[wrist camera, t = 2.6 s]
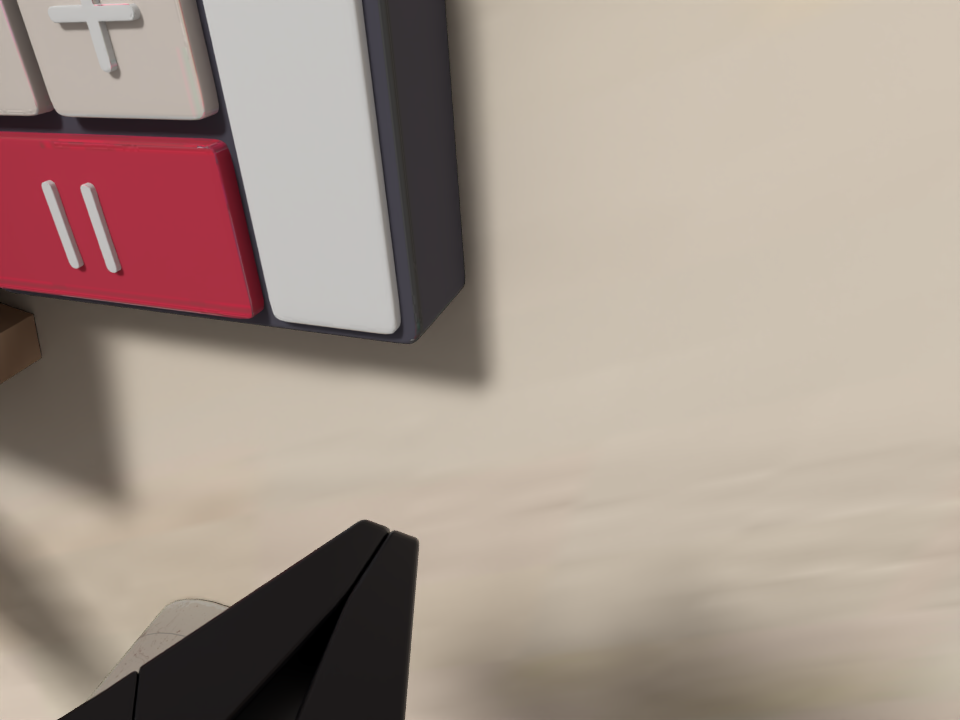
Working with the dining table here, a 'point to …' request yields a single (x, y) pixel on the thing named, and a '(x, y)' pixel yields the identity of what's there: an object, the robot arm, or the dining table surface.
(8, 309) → the overhang shelf
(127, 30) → the calculator
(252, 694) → the robot arm
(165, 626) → the thermos bottle
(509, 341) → the dining table surface
